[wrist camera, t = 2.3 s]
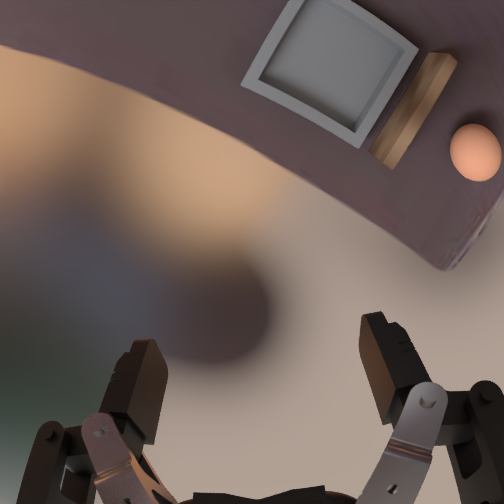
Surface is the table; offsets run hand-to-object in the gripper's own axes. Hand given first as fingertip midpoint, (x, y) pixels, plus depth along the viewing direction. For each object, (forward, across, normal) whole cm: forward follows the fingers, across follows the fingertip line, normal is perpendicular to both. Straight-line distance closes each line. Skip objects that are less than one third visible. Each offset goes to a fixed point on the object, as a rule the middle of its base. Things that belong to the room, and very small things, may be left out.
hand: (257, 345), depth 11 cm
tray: (+18, -8, -11) cm, 23 cm away
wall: (+18, -15, -7) cm, 25 cm away
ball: (+16, -22, -3) cm, 27 cm away
